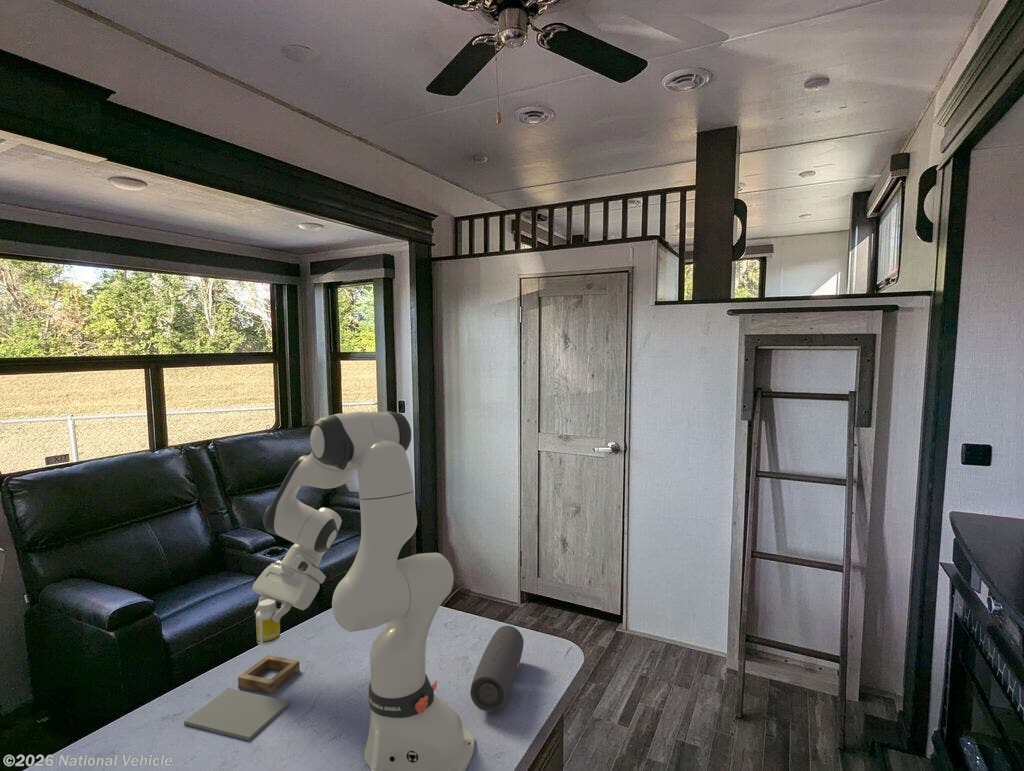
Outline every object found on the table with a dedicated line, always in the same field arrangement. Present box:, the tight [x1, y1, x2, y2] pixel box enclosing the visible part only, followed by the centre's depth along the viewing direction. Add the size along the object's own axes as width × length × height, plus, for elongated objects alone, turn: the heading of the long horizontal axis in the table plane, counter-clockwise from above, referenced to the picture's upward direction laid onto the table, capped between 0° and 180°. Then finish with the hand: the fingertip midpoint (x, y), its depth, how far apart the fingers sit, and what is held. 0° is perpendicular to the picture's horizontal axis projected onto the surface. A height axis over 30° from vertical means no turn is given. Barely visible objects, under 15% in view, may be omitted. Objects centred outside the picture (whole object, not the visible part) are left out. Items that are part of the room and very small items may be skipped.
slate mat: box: [183, 687, 290, 742], centre depth 117 cm, size 18×12×1 cm, turn 73°
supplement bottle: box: [255, 599, 281, 646], centre depth 129 cm, size 5×5×10 cm
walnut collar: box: [237, 654, 300, 695], centre depth 130 cm, size 10×10×2 cm
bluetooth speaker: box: [470, 625, 524, 713], centre depth 126 cm, size 23×9×10 cm, turn 168°
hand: (265, 617), depth 129 cm, fingers closed on supplement bottle, 5 cm apart
